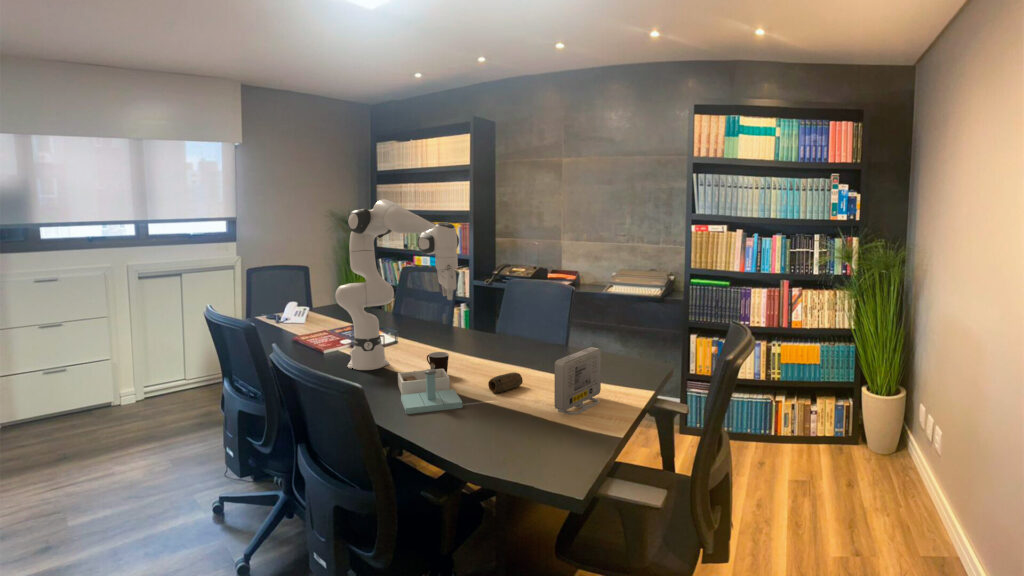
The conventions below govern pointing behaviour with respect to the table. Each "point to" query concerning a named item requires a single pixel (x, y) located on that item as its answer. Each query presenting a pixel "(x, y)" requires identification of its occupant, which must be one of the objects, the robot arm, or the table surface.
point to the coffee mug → (438, 360)
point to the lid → (431, 398)
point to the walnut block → (410, 378)
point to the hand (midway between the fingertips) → (447, 297)
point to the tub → (422, 382)
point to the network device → (577, 380)
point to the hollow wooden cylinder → (505, 382)
